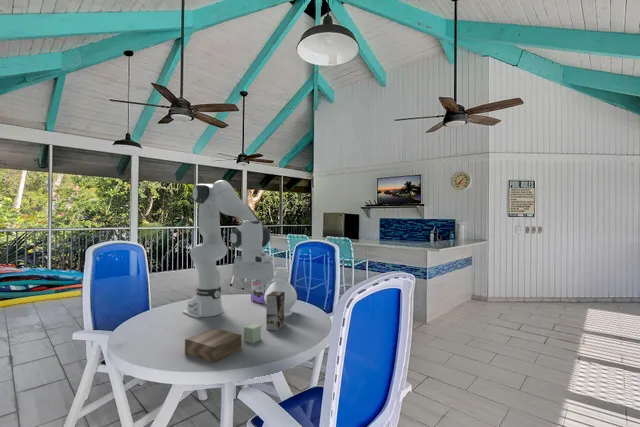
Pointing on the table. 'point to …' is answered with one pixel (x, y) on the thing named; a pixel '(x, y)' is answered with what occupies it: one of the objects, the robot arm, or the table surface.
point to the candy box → (259, 294)
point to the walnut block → (213, 344)
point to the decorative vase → (283, 289)
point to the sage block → (252, 333)
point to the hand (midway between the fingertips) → (252, 288)
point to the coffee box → (275, 311)
